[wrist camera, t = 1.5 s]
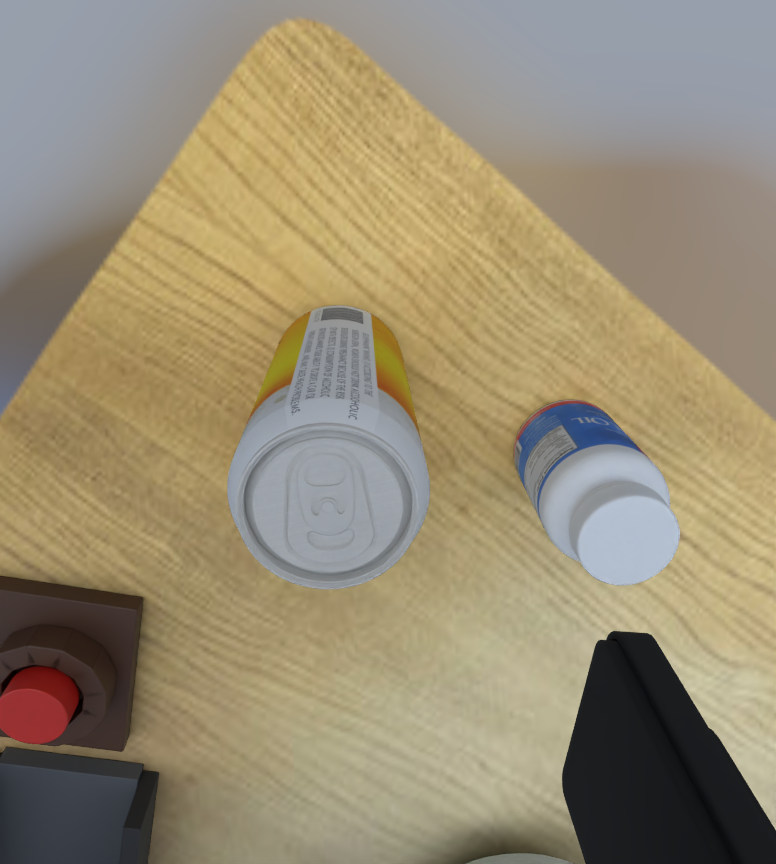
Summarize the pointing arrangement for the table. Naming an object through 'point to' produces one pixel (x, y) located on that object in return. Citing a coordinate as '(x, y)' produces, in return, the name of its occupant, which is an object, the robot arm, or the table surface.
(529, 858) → the cereal bowl
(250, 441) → the beer can
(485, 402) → the table surface
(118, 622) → the button block
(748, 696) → the table surface
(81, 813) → the dark grey cradle
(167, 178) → the table surface
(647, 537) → the pill bottle
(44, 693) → the button
